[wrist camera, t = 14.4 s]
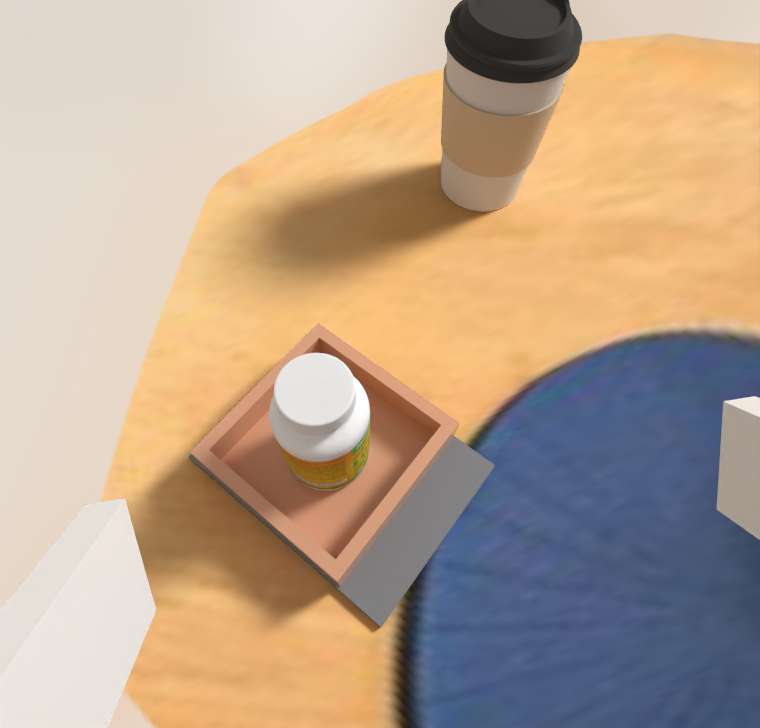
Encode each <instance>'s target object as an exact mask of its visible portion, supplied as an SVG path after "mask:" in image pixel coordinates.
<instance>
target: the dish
mask: <svg viewBox="0 0 760 728" xmlns="http://www.w3.org/2000/svg"><path fill="white" fill-rule="evenodd" d="M309 353H324V354H328V355H331V356H334V357H336V358H338V359H339V360H341V361H342V362H343V363H344V364H345V365H346V366H347V367H348V368H349V370H350V371H351V373H352V375H353V376H354V377H355V378H356V379H357V380H358V381H359V382H360V384H361V385H362V387H363V388H364V390H365V392H366V394H367V397H368V400H369V407H370V450H369V457H368V461H367V464H366V466H365V468H364V470H363V471H362V473H361V474H360V475H359V476H358V478H356V479H355V480H354V481H353V482H352V483H350V484H349V485H347V486H345V487H342V488H340V489H336V490H331V491H322V490H316V489H313V488H310V487H308V486H306V485H304V484H302V483H301V482H300V481H299V480H297V478H296V477H295V476H294V475H293V474H292V472H291V470H290V469H289V467H288V465H287V463H286V460H285V458H284V456H283V454H282V451H281V449H280V447H279V445H278V443H277V441H276V439H275V437H274V434H273V431H272V428H271V425H270V419H269V409H270V404H271V400H272V397H273V395H274V384H275V381H276V378H277V376H278V374H279V372H280V371H281V369H282V368H283V367H284V366H285V365H286V364H287V363H288V362H290V361H291V360H293V359H294V358H296V357H298V356H301V355H304V354H309ZM458 425H459V423H458V422H457V421H456V420H454V419H453V418H451V417H450V416H449V415H447V414H446V413H444V412H443V411H442V410H440V409H439V408H437V407H436V406H434V405H433V404H432V403H430V402H429V401H427V400H426V399H425V398H423V397H422V396H420V395H419V394H418V393H416V392H415V391H413V390H412V389H410V388H409V387H408V386H406V385H405V384H403V383H402V382H401V381H399V380H398V379H396V378H395V377H394V376H392V375H391V374H389V373H388V372H386V371H385V370H384V369H382V368H381V367H379V366H378V365H377V364H375V363H374V362H372V361H371V360H370V359H368V358H367V357H365V356H364V355H362V354H361V353H360V352H358V351H357V350H355V349H354V348H353V347H351V346H350V345H348V344H347V343H346V342H344V341H343V340H341V339H340V338H338V337H337V336H336V335H334V334H333V333H331V332H330V331H329V330H327V329H326V328H324V327H323V326H322V325H320V324H319V323H318V324H317V325H316V326H315V327H314V328H313V329H312V330H311V331H310V332H309V333H308V334H307V335H306V336H305V337H304V338H303V339H302V340H301V341H300V342H299V343H298V344H297V345H296V346H295V347H294V348H293V349H292V350H291V351H290V352H289V353H288V354H287V355H286V356H285V357H284V358H283V359H282V360H281V361H280V362H279V363H278V364H277V365H276V366H275V367H274V368H273V369H272V370H271V371H270V372H269V373H268V374H267V375H266V376H265V377H264V378H263V379H262V380H261V381H260V382H259V383H258V384H257V385H256V386H255V387H254V388H253V389H252V390H251V391H250V392H249V393H248V394H247V395H246V396H245V397H244V398H243V399H242V400H241V401H240V402H239V403H238V404H237V405H236V406H235V407H234V408H233V409H232V410H231V411H230V412H229V413H228V414H227V415H226V416H225V417H224V418H223V419H222V420H221V421H220V422H219V423H218V424H217V425H216V426H215V427H214V428H213V429H212V430H211V431H210V432H209V433H208V434H207V435H206V436H205V437H204V438H203V439H202V440H201V441H200V442H199V443H198V444H197V445H196V446H195V447H194V448H193V449H192V450H191V451H190V453H191V454H192V455H193V456H194V457H195V458H196V459H197V460H198V461H199V462H200V463H201V464H202V465H203V466H204V467H205V468H206V469H208V470H209V471H210V472H211V473H212V474H213V475H214V476H216V477H217V478H218V479H219V480H220V481H221V482H222V483H224V484H225V485H226V486H227V487H228V488H229V489H230V490H231V491H233V492H234V493H235V494H236V495H237V496H238V497H239V498H241V499H242V500H243V501H244V502H245V503H246V504H247V505H249V506H250V507H251V508H252V509H253V510H254V511H255V512H257V513H258V514H259V515H260V516H261V517H262V518H263V519H264V520H266V521H267V522H268V523H269V524H270V525H271V526H272V527H274V528H275V529H276V530H277V531H278V532H279V533H280V534H282V535H283V536H284V537H285V538H286V539H287V540H288V541H289V542H291V543H292V544H293V545H294V546H295V547H296V548H297V549H299V550H300V551H301V552H302V553H303V554H304V555H305V556H307V557H308V558H309V559H310V560H311V561H312V562H313V563H314V564H316V565H317V566H318V567H319V568H320V569H321V570H322V571H324V572H325V573H326V574H327V575H328V576H329V577H330V578H332V579H333V580H334V581H335V582H336V583H337V584H338V585H339V586H341V585H342V584H343V582H344V581H345V580H346V578H347V577H348V576H349V574H350V573H351V572H352V571H353V569H354V568H355V567H356V565H357V564H358V563H359V561H360V560H361V559H362V557H363V556H364V555H365V553H366V552H367V551H368V550H369V548H370V547H371V546H372V544H373V543H374V542H375V540H376V539H377V538H378V536H379V535H380V534H381V533H382V531H383V530H384V529H385V527H386V526H387V525H388V523H389V522H390V521H391V519H392V518H393V517H394V515H395V514H396V513H397V512H398V510H399V509H400V508H401V506H402V505H403V504H404V502H405V501H406V500H407V498H408V497H409V496H410V494H411V493H412V492H413V491H414V489H415V488H416V487H417V485H418V484H419V483H420V481H421V480H422V479H423V477H424V476H425V475H426V474H427V472H428V471H429V470H430V468H431V467H432V466H433V464H434V463H435V462H436V460H437V459H438V458H439V456H440V455H441V454H442V453H443V451H444V450H445V449H446V447H447V446H448V445H449V443H450V442H451V441H452V439H453V438H454V435H455V433H456V430H457V428H458Z"/></svg>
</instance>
